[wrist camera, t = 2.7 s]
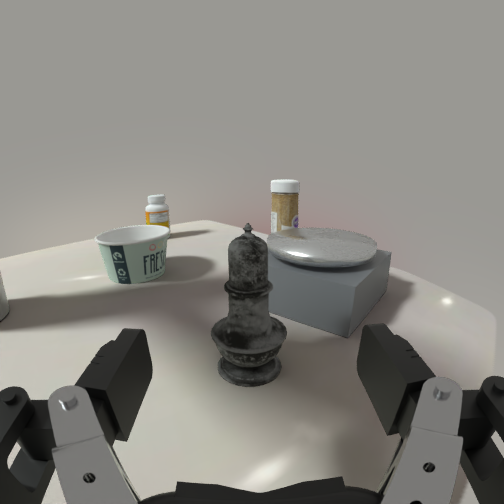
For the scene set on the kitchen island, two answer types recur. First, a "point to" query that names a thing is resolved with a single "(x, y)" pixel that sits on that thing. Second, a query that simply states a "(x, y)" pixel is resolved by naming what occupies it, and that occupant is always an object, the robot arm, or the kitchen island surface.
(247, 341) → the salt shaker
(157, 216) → the supplement bottle
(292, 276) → the kitchen scale
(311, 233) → the scale pan
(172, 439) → the kitchen island surface
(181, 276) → the kitchen island surface
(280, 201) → the sprinkles bottle
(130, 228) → the food container
